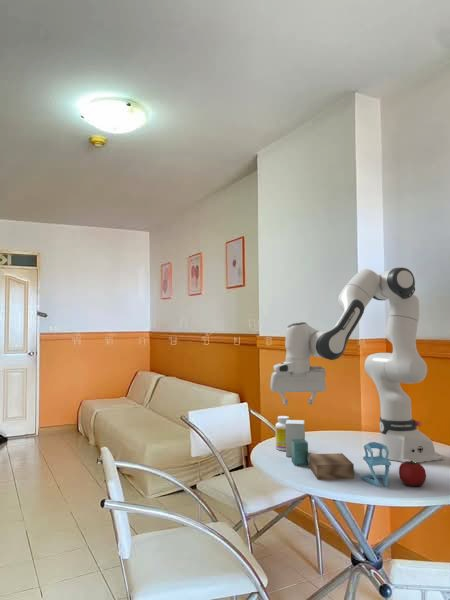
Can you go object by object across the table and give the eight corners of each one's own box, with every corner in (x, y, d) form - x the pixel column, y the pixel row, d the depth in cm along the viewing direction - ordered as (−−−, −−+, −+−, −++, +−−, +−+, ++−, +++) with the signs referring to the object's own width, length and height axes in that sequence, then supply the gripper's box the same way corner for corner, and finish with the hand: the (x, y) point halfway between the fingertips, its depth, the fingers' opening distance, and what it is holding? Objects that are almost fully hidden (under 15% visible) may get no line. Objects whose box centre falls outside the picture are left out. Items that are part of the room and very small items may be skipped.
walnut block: (342, 467, 152) (342, 453, 152) (354, 479, 140) (353, 464, 140) (309, 468, 151) (308, 454, 152) (317, 480, 139) (317, 464, 140)
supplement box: (305, 457, 163) (304, 424, 164) (285, 456, 164) (284, 423, 165) (305, 452, 170) (304, 419, 171) (286, 451, 171) (286, 419, 172)
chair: (370, 487, 132) (369, 448, 133) (360, 477, 140) (359, 440, 141) (395, 486, 132) (393, 447, 133) (383, 477, 141) (382, 440, 141)
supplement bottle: (293, 451, 171) (292, 418, 172) (276, 451, 172) (276, 418, 172) (291, 446, 178) (290, 415, 179) (275, 446, 178) (274, 415, 179)
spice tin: (304, 461, 159) (304, 439, 159) (308, 465, 154) (307, 442, 154) (291, 461, 158) (291, 439, 159) (294, 465, 153) (294, 443, 154)
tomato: (400, 478, 139) (400, 455, 140) (427, 482, 135) (426, 459, 136) (396, 486, 133) (395, 462, 133) (425, 491, 129) (424, 466, 129)
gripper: (322, 365, 162) (323, 402, 161) (269, 365, 161) (269, 403, 160) (327, 366, 156) (328, 405, 155) (272, 367, 155) (272, 406, 154)
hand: (298, 404), depth 157 cm, fingers open, 8 cm apart
